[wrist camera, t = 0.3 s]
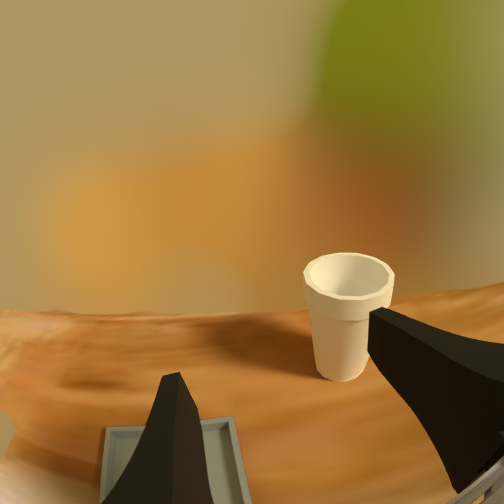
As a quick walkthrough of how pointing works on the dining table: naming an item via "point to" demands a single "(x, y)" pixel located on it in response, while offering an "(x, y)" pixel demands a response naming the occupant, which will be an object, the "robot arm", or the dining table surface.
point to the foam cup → (344, 309)
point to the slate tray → (216, 451)
